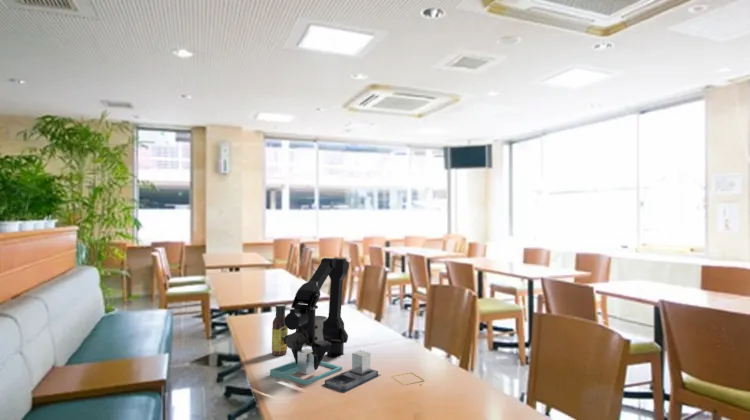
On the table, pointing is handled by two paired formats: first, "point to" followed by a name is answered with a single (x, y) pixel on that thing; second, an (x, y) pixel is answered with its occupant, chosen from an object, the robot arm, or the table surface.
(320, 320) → the cup
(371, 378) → the dark grey tray
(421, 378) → the yellow square frame
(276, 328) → the sauce bottle
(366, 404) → the table surface
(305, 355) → the billet
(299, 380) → the teal tray
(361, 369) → the block
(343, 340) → the robot arm
